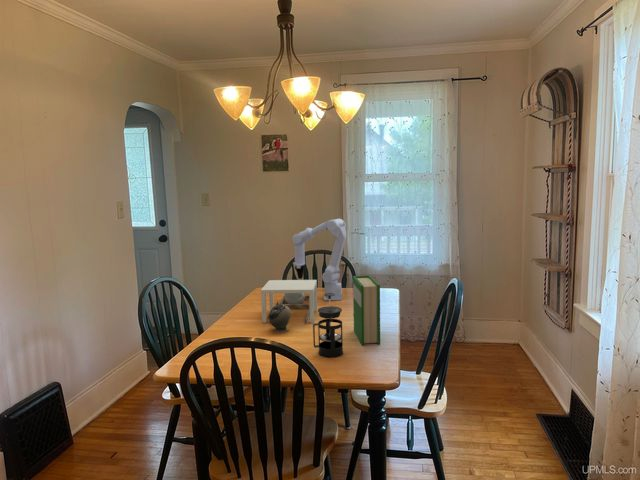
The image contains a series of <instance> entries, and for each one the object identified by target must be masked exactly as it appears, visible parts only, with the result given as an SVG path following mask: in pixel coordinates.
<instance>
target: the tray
mask: <svg viewBox="0 0 640 480" xmlns="http://www.w3.org/2000/svg"><path fill="white" fill-rule="evenodd" d="M283 296H284V298H283V297H282V298H283V299H282V298H281V299H282V301H281V300H280V301H281V303H280V302H279V303H280V304H283V305H286V306H287V307H288V308H289V309H290V311H291V310H295V311H296V310H297V311H299V310H301V311H302V310H303V311H304V310H308V311H309V308H310V301H309V295H305V298H304V301H303V302H305V301H307V303H301V304H288V303H287V302H286V301H285V295H283Z"/></svg>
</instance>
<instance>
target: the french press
mask: <svg viewBox="0 0 640 480" xmlns="http://www.w3.org/2000/svg"><path fill="white" fill-rule="evenodd" d="M334 295H335V294H334V293H325V292H324V294H323V296H328V299H329V300H328V305H329V306H322V307H319V308H317V312H318V316H319V317H320V318H323V319H321V320H318V322H317V323H316V322H314V323H312V333H313V334H312V335H313V336H312V338H313V340H312V343H313V347H314V349H315V348H318V351H317V352H318V355H319V356H320V357H322V358H326V359H327V358H328V359H333V358H338V357H342V356H343V355H344V349H343V345H344V344H343V343H344V342H343V321H342V320H340V319H338V318H340V316H341V312H342V311H343V309H342V308H341V307H339V306H331V300H330V299H331V296H334ZM324 323H325V325H322V324H324ZM331 323H337V325H332V324H331ZM316 326H317V327H318V329H317V335H318V344H316V331H315V327H316ZM320 329H322V330H325V333H322V334H320ZM338 329H340V334H339V333H337V332H336V330H338Z"/></svg>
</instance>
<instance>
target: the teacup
mask: <svg viewBox="0 0 640 480" xmlns="http://www.w3.org/2000/svg"><path fill="white" fill-rule="evenodd" d="M284 296H285V301H286V302H285V303H286V304H303V303H304V302H305V301H304V298H305V296H306V293H284Z"/></svg>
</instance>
